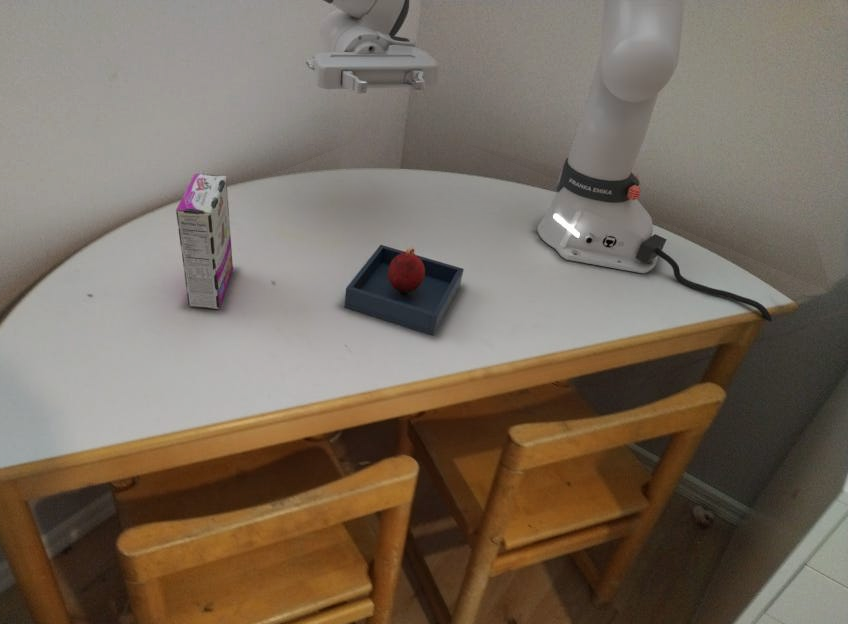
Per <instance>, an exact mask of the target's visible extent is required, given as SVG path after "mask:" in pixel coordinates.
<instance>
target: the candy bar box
mask: <svg viewBox="0 0 848 624" xmlns="http://www.w3.org/2000/svg"><path fill="white" fill-rule="evenodd" d="M227 180H228V179H227V176H226V175H216V174H215V175H214V174H208V173H207V174H205V173H194V174H193V176H192V178H191V180H190V182H189V184H188V186H187V187H186V190H185V191H184V193H183V196H182V197H181V199H180V201H179V203H178V205H177V207H176V209H175V214H176V221H177V227H178V236H179V244H180V250H181V251H180V252H181V256H182V265H183V271H184V279H185V288H186V289H185V290H186V295H187V303H188V307H191V308H196V309H209V310H210V309H211V310H220V309H221V306H222V302H223V300H224V297H225V294H226V292H227V288H228V285H229V282H230V280H231V277H232V273H233V271H234V266H233V265H234V264H233V250H232V237H231V236H232V235H231V225H230V223H231V222H230V209H229V196H228V195H229V194H228V183H227Z"/></svg>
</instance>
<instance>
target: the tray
mask: <svg viewBox="0 0 848 624" xmlns="http://www.w3.org/2000/svg"><path fill="white" fill-rule="evenodd" d="M405 252H406V251H404V250H402V249H401V250H400V249H397V248H395V247H390V246H387V245H384V244H379V245H378V247H377V248H376V249H375V251H374V252H373V253H372V255H371V256H370V257H369V259H367V261H366V262H365V264H364V265H363V266H362V267H361V268H360V270H359V271H358V273H356V275H355V276H354V277H353V279H352V280H350V283H349V284H348V285H347V286H346V287H345V295H344V308H346V309H349V310H353V311H355V312H358V313H361V314H365V315H368V316H371V317H374V318H376V319H381V320H383V321H386V322H390V323H393V324H396V325H399V326H402V327H406V328H409V329H411V330H415V331H418V332H421V333H423V334H428V335H430V336H434V335H435V334H436V331H437V330H438V328H439V326H440V324H441V322H442V320H443V318H444V317H445V315H446V314H447V311H448V309H449V307H450V306H451V304H452V302H453V300H454V298H455V296H456V294H457V293H458V291H459V289H460V287H461V283H462V278H463V275H464V268H462V267H459V266H455V265H451V264H449V263H445V262H442V261H439V260H435V259H431V258H428V257H425V256H421V255H418V254H416V255H417V256H418V257H419V258H420V259H421V260H422V262H423V264H424V267H425V277H424V280H423V282H422V284H421V285H420V286H419V287H418V288H417V289H415V290H413V291H411V292H407V293H402V292H400V291H398V290H396V289H395V288H394V287H393V286H392V285H391V284H390V281H389V278H388V269H389V266H390V263H391V261H392V260H393V259H394V258H395V257H396V256H398V255H399V254H401V253H405Z"/></svg>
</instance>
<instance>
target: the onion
mask: <svg viewBox="0 0 848 624" xmlns="http://www.w3.org/2000/svg"><path fill="white" fill-rule="evenodd" d="M404 252H405V253H401V254H399V255H398V256H396V257H395V258H394V259H393V260H392V261H391V263H390V266H389V269H388V278H389V281H390V284H391V285H392V286H393V287H394V288H395V289H396V290H398V291H400V292H402V293H407V292H411V291H413V290H415V289H417V288H418V287H419V286H420V285H421V284H422V282H423V280H424V277H425V267H424V264H423V262H422V260H421V259H420V258H419V257H418V256H419V255H418V254H416V253H415V249H414V248H413V247H408V248H407V249H406V250H405V251H404ZM417 255H418V256H417Z"/></svg>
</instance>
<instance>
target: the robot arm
mask: <svg viewBox="0 0 848 624" xmlns="http://www.w3.org/2000/svg"><path fill="white" fill-rule="evenodd" d="M322 1H324V2H326V3H327V4H329V5H330V4H331V5H333V6H334V7H335V8H337V9H336V10H333V11H331V12H329V13H328V14H327V15H326V16H325V17H324V18H323V20H322V22H321V25H320V30H319V38H320V39H319V40H320V45H321V48H322V50H323V51H320V52H317V53H315V55H314V56H313V57H312V58H308V59H306V61H305V63H306V66H307V67H308V69H309V70H312V71H313V78H314V81H315V84H316V85H317V87H318V88H321V89H324V90H350V91H354V92H355V94H366V93H367V90H369V89H408V88H409V89H410V90H411V91H413V93H424V92H425V88H434V87H435V86H436V85H437V82H438V78H439V73H440V65H439V62H438V61H437V60H436V59H435V58H434V57H433V56H432V55H431V54H429V53H428V52H427V51H426V50H424V49H422V48H420V47H417V43H416V41H415V40H414V39H412V38H407V37H403V36H402V37H400V36H396V35H397V34H398V32H399V31H401V30H400V29H401V28H402V26H403V24H404V23H405V21H406V19H407V16H408V13H409V11H410V0H322ZM684 9H685V0H604V2H603V15H602V28H601V42H600V53H599V56H598V60H597V63H596V67H595V70H594V73H593V76H592V80H591V83H590V85H589V86H590V87H589V90H588V93H587V96H586V100H585V102H584V105H583V109H582V113H581V115H580V120H579V123H578V126H577V129H576V132H575V135H574V139H573V142H572V145H571V148H570V150H569V155H568V157H567V158H566V159H565V161H564V162H563V165H562V167H561V170H560V173H559V176H558V179H557V183H556V192H555V194H554V197H553V199H552V200H551V203H550V205H549V208H548V209H547V212H546V213H545V215H544V217H543V218H542V219H541V221H540V222H539V224H538V225H537V233H538V236H539V237H540V238H541V240H543V242H545V243H546V244H547V245H549V246H550V247H552V248H553V249H554V250H555V251H557V253H558V255H560V256H561V257H562V258H563V259H564V260H567V261H572V262H578V263H582V264H589V265H594V266H600V267H604V268H611V269H617V270H622V271H627V272H633V273H638V274H647V273H649V272H651V271H652V270H653V269H654V268H655V266H656V264H657V261H658V258H659V257H660V258H662V260H664V261H665V262H667V264H669V265H670V266H671V268H672V271H673V276H674V278H675V279H676V280H677V281H678V282H679V283H680V284H682V285H684V286H686V287H688V288H690V289H693V290H697V291H701V292H704V293H707V294H710V295H714V296H720V297H723V298H727V299H729V300H732V301H735V302H738V303H742V304H744V305H748V306H750V307H753V308H755V309H756V310H757V311H759V312H760V313H761V315H762V317H763V319H764V320H766V321H767V322H773V319H772V316H771V314H770V312H769V310H768V309H767V308H766V307H765V306H764V305H763V304H762V303H760V302H758V301H757V300H754V299H751V298H748V297H744V296H742V295H738V294H737V293H733V292H730V291H727V290H722V289H718V288H713V287H711V286H710V287H709V286H706V285H703V284H700V283H697V282H693V281H691V280H689V279H687V278H686V277H684V276H683V275H682V274H681V271H680V266H679V264H678V263H677V261H676V260H675V259H673V257H671V256H670V255H669V254H667V253H666V252H664V251H663V249H664V246H665V244H666V242H667V240H668V239H667V238H665V237H662V236H660V235H658V234H656V233H654V226H653V225H654V224H653V219H652V216H651V215H650V213H649V212H648V211H647V209H645V207H644V206H643V205H642V204H641V202H640V201H639V200H638V199H639V197H641V192H642V191H641V190H642V189H641V187H640V180H639V174H638V173H636V175H635V174H634V173H633V172H632V171H633V169H634V166H635V164H636V161H637V159H638V156H639V153H640V150H641V148H642V145H643V142H644V141H645V138H646V135H647V133H648V129H649V126H650V122H651V118H652V115H653V112H654V108H655V105H656V103H657V99H658V96H659V93H660V92H661V91H662V90H663V89H664V88H665V87H666V86H667V85H668V83H669V82H670V81H671V79H672V78H673V76H674V74H675V72H676V70H677V67H678V63H679V58H680V50H681V43H682V42H681V41H682V32H683V31H682V30H683V23H684V22H683V20H684V11H685V10H684Z"/></svg>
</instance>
